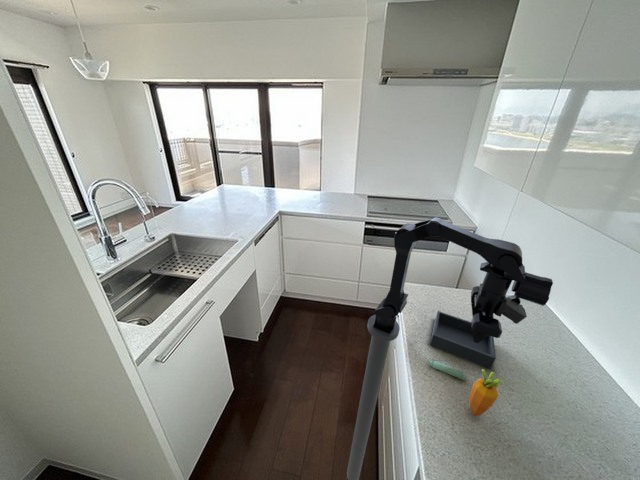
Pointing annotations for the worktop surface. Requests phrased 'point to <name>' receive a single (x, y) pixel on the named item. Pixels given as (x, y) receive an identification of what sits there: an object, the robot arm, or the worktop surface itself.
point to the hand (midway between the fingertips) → (475, 331)
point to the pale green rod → (448, 369)
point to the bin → (461, 340)
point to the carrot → (483, 394)
